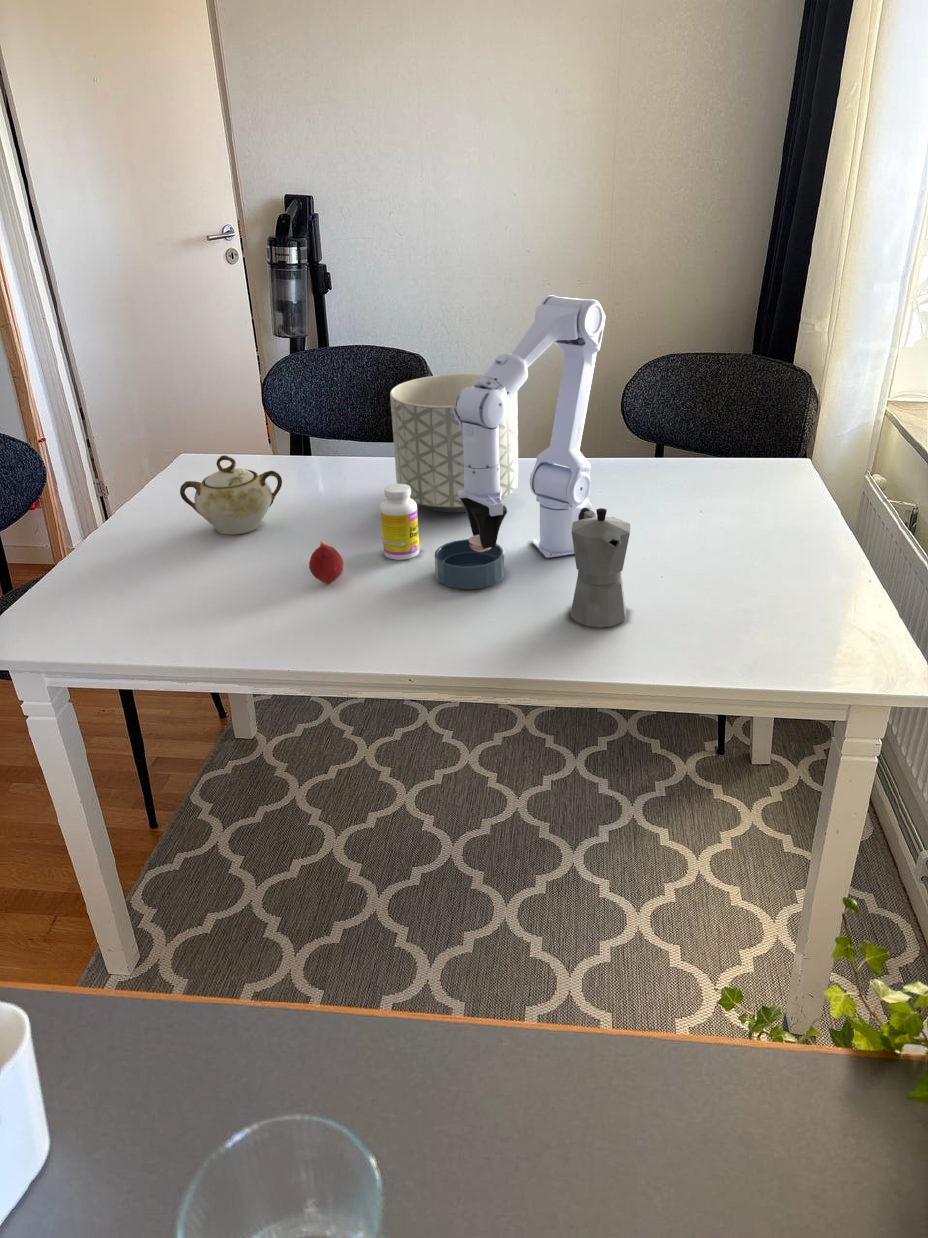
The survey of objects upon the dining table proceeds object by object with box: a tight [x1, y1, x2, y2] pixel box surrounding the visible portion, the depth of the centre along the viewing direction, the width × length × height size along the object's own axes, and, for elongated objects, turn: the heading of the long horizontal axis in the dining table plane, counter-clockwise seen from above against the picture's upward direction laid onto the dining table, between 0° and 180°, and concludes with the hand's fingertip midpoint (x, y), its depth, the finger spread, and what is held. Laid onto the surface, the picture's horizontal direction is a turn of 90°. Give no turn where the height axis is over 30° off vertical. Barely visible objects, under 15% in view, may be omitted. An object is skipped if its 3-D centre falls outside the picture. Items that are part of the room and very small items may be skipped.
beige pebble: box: [469, 535, 492, 552], centre depth 157 cm, size 4×5×2 cm
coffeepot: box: [570, 507, 631, 628], centre depth 147 cm, size 15×9×18 cm, turn 13°
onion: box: [308, 540, 344, 585], centre depth 162 cm, size 6×6×8 cm
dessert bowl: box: [434, 538, 506, 590], centre depth 164 cm, size 12×12×4 cm
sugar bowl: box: [179, 454, 283, 536], centre depth 186 cm, size 20×15×15 cm
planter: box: [389, 373, 519, 514], centre depth 191 cm, size 25×25×24 cm
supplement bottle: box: [379, 483, 420, 561], centre depth 172 cm, size 7×7×13 cm
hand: (484, 541), depth 157 cm, fingers closed on beige pebble, 4 cm apart
